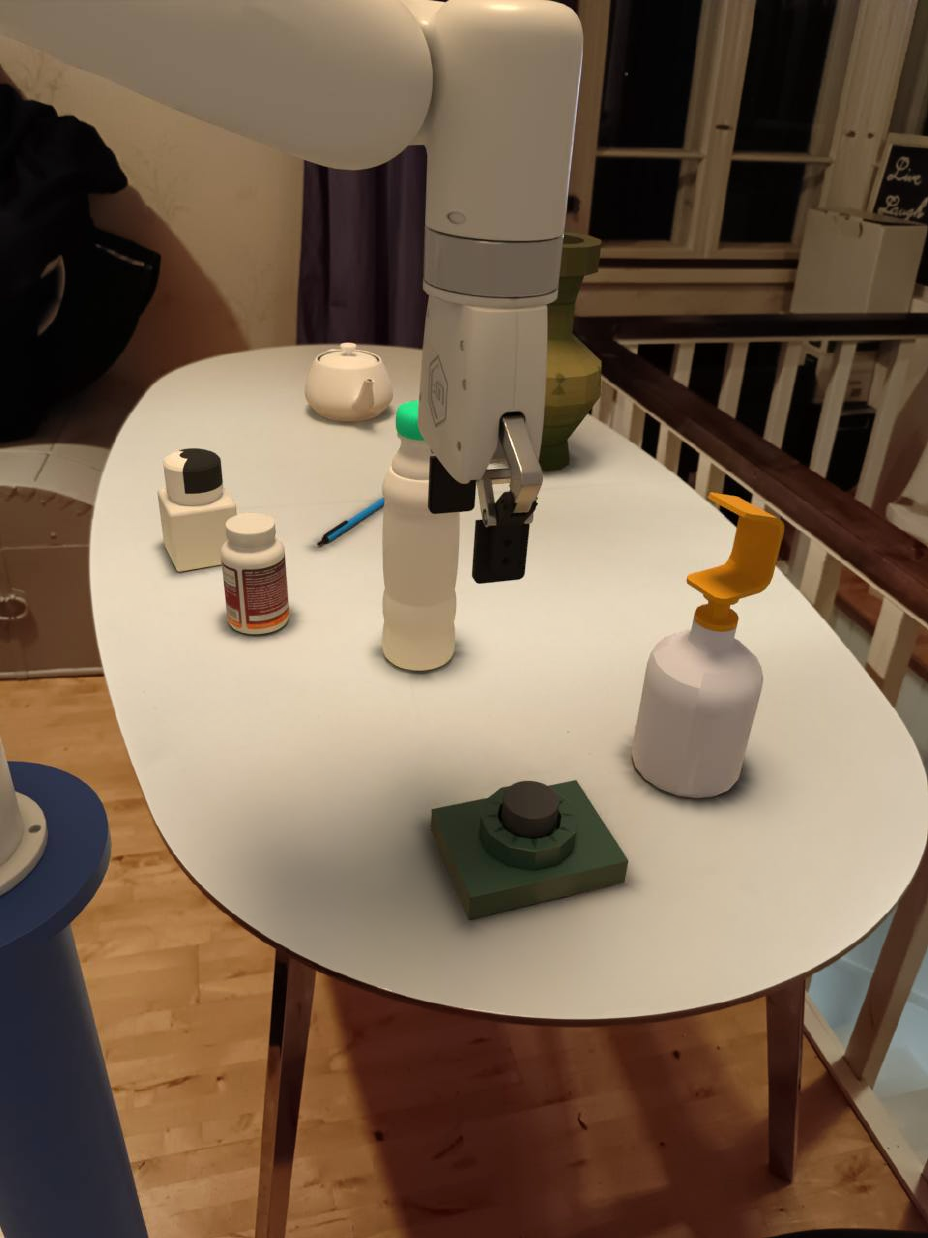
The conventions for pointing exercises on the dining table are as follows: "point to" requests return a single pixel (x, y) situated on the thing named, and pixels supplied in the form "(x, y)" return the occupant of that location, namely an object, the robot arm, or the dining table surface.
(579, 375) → the vase
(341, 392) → the teapot
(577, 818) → the green button base
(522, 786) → the brown push button
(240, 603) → the pill bottle
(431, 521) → the water bottle
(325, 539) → the pen
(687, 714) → the soap bottle
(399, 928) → the dining table surface
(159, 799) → the dining table surface
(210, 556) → the medicine bottle
